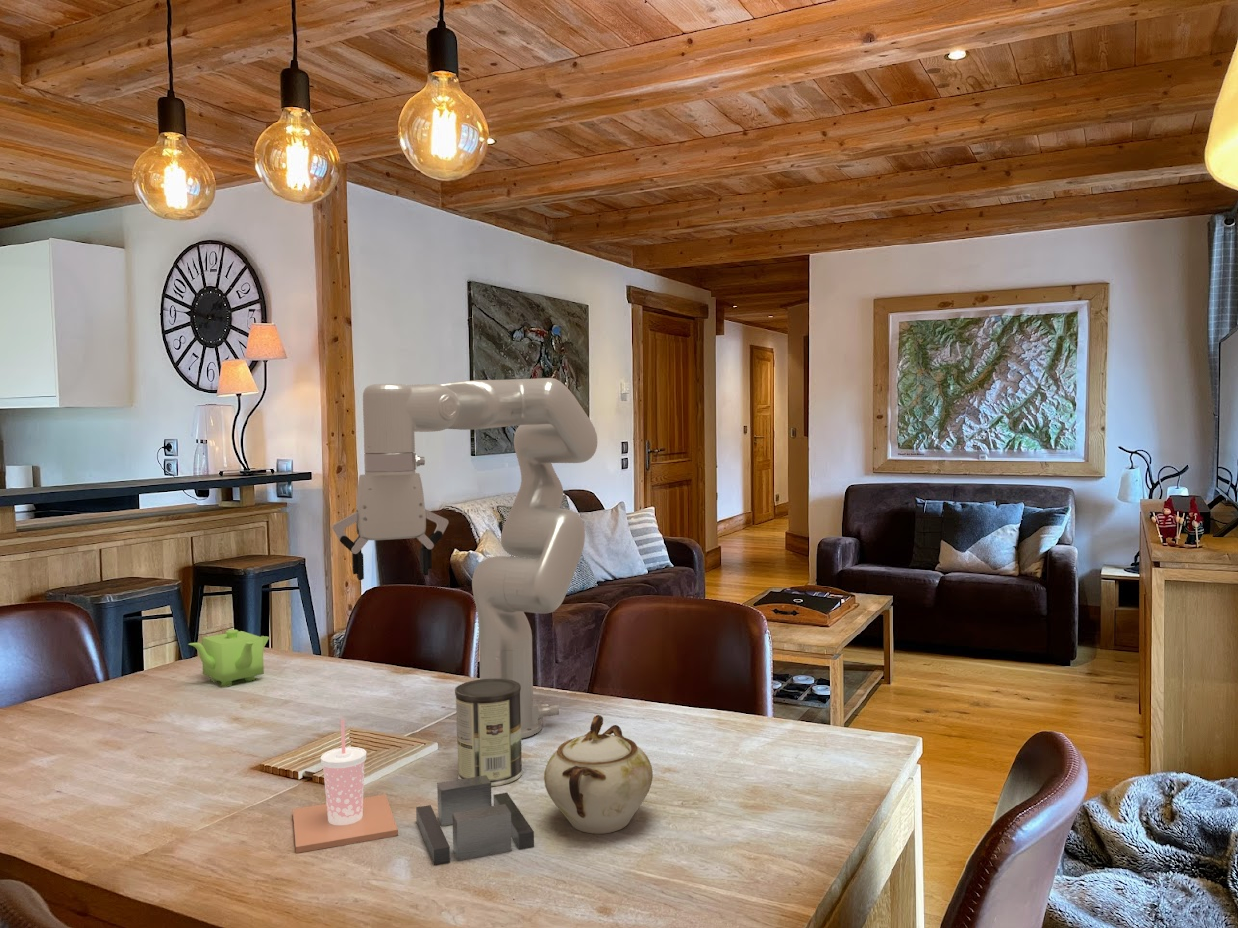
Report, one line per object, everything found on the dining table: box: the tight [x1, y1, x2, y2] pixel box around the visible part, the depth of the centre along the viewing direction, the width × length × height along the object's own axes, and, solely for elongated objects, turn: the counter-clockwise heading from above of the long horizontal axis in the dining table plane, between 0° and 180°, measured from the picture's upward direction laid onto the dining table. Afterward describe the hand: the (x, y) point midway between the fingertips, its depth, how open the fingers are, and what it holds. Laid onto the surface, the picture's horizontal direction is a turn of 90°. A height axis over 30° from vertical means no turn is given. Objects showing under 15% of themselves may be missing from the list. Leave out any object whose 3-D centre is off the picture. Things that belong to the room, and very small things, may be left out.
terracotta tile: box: [292, 794, 399, 854], centre depth 126 cm, size 13×13×1 cm
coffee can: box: [454, 678, 524, 787], centre depth 144 cm, size 10×10×14 cm
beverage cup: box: [320, 717, 367, 825], centre depth 126 cm, size 6×6×14 cm
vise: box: [415, 775, 535, 866], centre depth 123 cm, size 13×14×5 cm
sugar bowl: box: [543, 714, 654, 835], centre depth 126 cm, size 20×15×15 cm
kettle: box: [187, 629, 270, 687], centre depth 203 cm, size 15×14×11 cm
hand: (392, 576), depth 140 cm, fingers open, 9 cm apart
